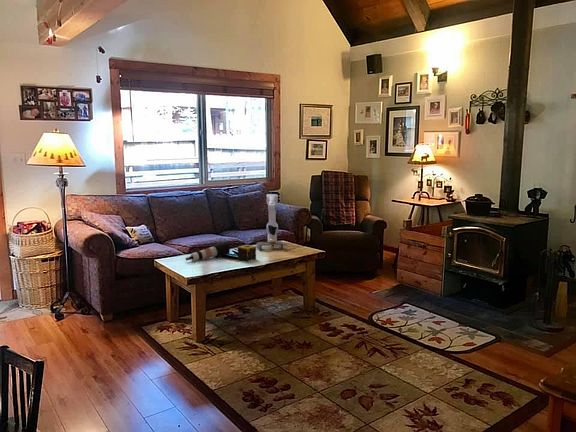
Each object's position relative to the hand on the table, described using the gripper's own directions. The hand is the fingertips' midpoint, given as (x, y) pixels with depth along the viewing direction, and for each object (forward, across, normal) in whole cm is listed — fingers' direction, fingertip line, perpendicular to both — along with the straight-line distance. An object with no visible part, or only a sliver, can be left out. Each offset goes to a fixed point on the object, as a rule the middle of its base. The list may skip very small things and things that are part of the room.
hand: (272, 234), depth 396 cm
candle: (+13, +36, -28) cm, 48 cm away
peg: (+10, +6, -1) cm, 12 cm away
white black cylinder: (+13, +25, -57) cm, 63 cm away
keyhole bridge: (+11, +6, -4) cm, 13 cm away
